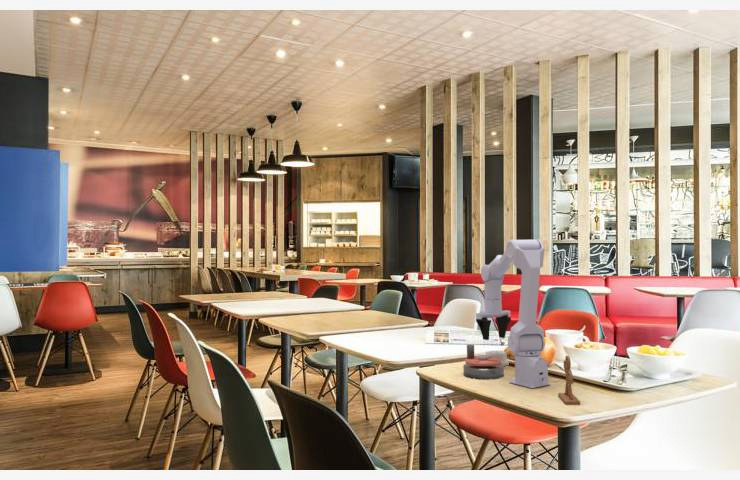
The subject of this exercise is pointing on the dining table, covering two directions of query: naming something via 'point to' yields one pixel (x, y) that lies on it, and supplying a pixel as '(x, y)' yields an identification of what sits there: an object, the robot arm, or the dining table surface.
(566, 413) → the dining table surface
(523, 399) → the dining table surface
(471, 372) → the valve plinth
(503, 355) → the mechanical component
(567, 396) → the brown statuette
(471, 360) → the handwheel
